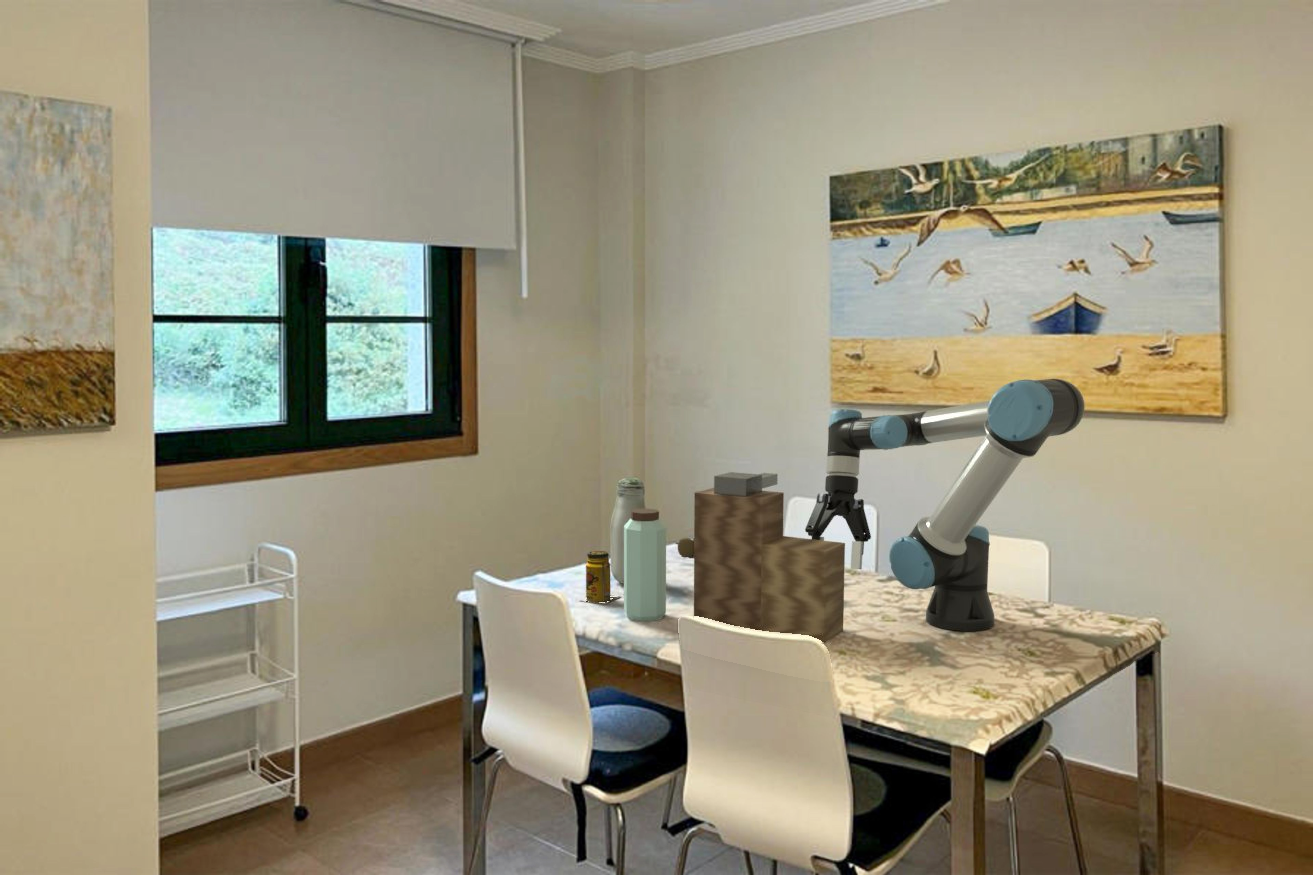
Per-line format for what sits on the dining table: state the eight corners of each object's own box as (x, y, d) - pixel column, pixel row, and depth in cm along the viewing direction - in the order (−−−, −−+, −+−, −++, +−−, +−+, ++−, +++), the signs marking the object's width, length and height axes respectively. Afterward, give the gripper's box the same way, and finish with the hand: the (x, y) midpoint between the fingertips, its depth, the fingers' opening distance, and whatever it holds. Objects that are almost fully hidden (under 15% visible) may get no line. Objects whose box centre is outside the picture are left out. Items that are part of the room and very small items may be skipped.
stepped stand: (843, 631, 244) (845, 498, 241) (823, 643, 234) (826, 505, 231) (716, 611, 260) (717, 486, 257) (693, 622, 251) (694, 492, 248)
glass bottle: (621, 589, 282) (621, 481, 279) (604, 581, 291) (604, 476, 288) (655, 585, 286) (655, 479, 284) (637, 577, 295) (637, 474, 292)
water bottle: (661, 623, 250) (661, 515, 247) (619, 621, 252) (618, 513, 249) (669, 612, 259) (670, 508, 257) (628, 610, 261) (628, 506, 259)
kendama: (725, 565, 313) (666, 555, 324) (741, 560, 321) (683, 550, 332) (727, 544, 313) (667, 535, 323) (742, 539, 321) (684, 531, 331)
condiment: (579, 601, 270) (578, 553, 268) (596, 594, 277) (596, 547, 276) (604, 605, 266) (604, 556, 265) (621, 597, 274) (621, 550, 272)
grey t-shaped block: (785, 485, 260) (786, 468, 260) (745, 496, 242) (746, 478, 242) (755, 482, 264) (755, 466, 264) (714, 493, 246) (714, 476, 246)
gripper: (864, 482, 266) (859, 569, 264) (793, 469, 250) (787, 562, 248) (888, 481, 260) (884, 571, 258) (818, 469, 245) (812, 564, 242)
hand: (836, 567), depth 253 cm, fingers open, 13 cm apart
